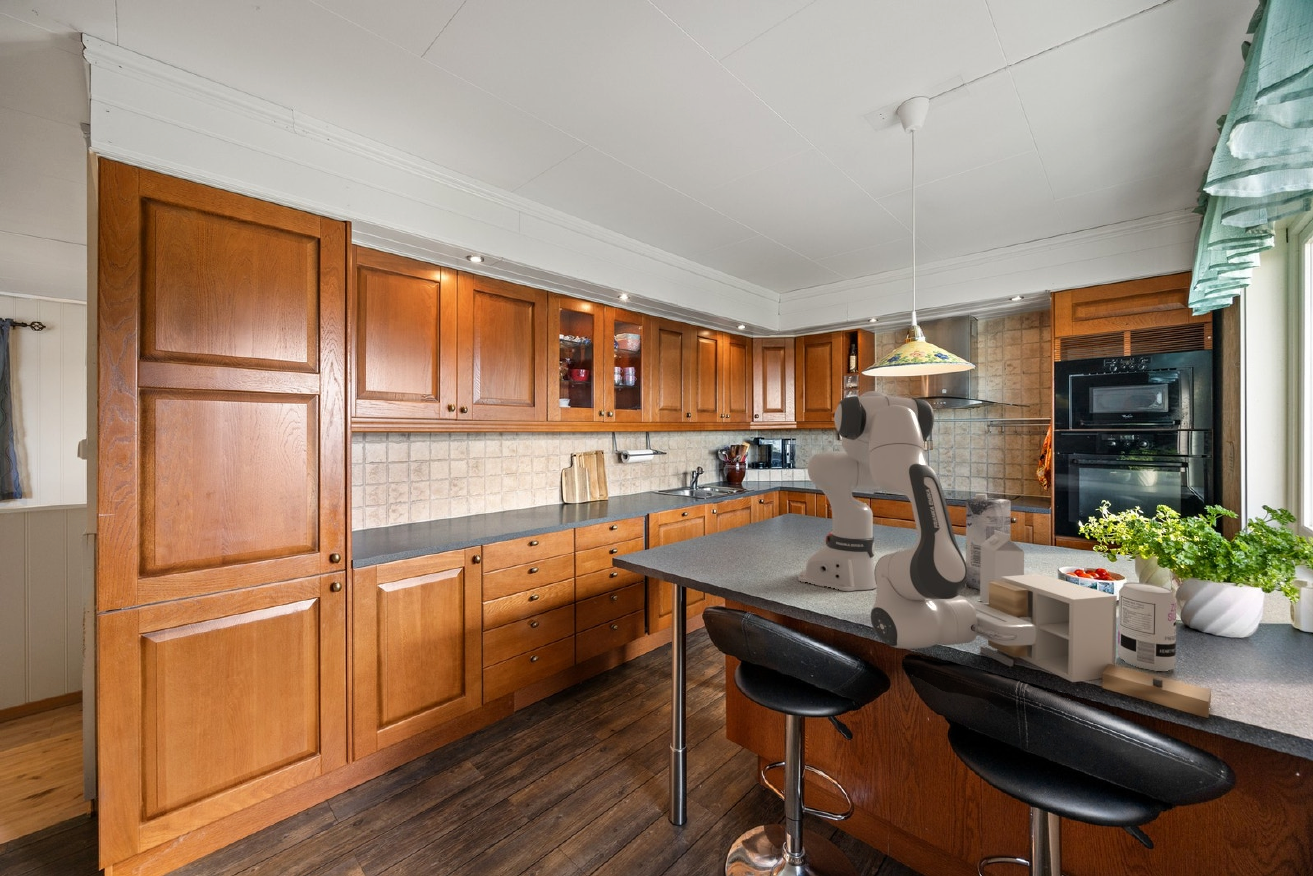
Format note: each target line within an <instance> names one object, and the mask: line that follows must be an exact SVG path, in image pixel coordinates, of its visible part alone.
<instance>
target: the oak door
mask: <svg viewBox="0 0 1313 876" xmlns="http://www.w3.org/2000/svg"><path fill="white" fill-rule="evenodd" d="M989 607H991V608H994V609H996V610H999V611H1001V612H1004V613H1007V614H1009V615H1012V616H1014V617H1017V616H1019V615H1021V616H1022V615H1024V616H1027V608H1028V590H1027V589H1024V588H1021V587H1018V586H1015V585H1012V584H1009V583H1005V582H1002V581H996V582H989ZM987 646H989V647H990V648H993V649H995V650H997V651H1000V652H1001V653H1004V654H1006V655H1008V656H1010V657H1012V658H1019V657H1023V656H1027V645H1023V646H1006V645H1000V644H997V643H994V642H992V641H990V640H987Z"/></svg>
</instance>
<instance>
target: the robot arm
mask: <svg viewBox="0 0 1313 876" xmlns="http://www.w3.org/2000/svg"><path fill="white" fill-rule="evenodd" d="M833 417H834V419H833V421H834V426H835V429H836V433H838V435H839V436H840V437H841V444H842V448H843V450H844V451H843V450H841V451H839V450H838V451H835V450H833V451H832V450H831V451H830V450H829V451H825V452H819V453H815V454H813V456H812V457H811V459H810V460H809V461H808V465H807V474H808V477H809V479H810V481H811V482H812V484H813V485H815V487H817V488H818V489H819V490H821V491H822V492H823V494H824V495H825V496H826V498H827V500H828V502H829V504H830V508H831V514H832V515H831V517H832V531H831V532H829V533H828V534H826V536H825V541H824V542H825V546H824V547H822V548H821V549H819V550H818V551H816V552H815V553H813V554H812V555H811V556H810V557H809V558H808V559H807V562H806V565H805V569H804V570H802V571H800V572H799V573H798V575H797V581H799V582H800V581H801V583H805V582H808V583H807V584H809V583H811V585H814V584H815V585H816V586H820V587H824V586H827V587H826V588H828V587H831V588H830V589H833V588H835V589H834V590H838V589H839V590H838V591H843V592H852V591H866V590H867V591H868V590H872V589H876V596H875V597H876V599H875V602H874V604H873V607H872V609H871V611H870V622H871V625H872V629H873V630H874V632H875V634H876V635H877V637H878V638H879V640H881V641H882V642H883V643H884V644H886V645H887V646H890V647H892V648H895V649H896V648H897V649H905V650H906V649H908V650H909V649H910V650H912V649H913V650H914V649H924V648H930V647H931V648H932V647H933V646H935V645H938V646H939V645H940V646H952V645H962V644H970V643H971V642H973V641H974V640H975V639H976V638H977V636H979V637H981V638H983V639H986V641H988V640H990V641H992V642H994V643H997V644H1000V645H1006V646H1023V645H1033V644H1035V641H1036V626H1035V625H1034V624H1032V623H1031V621H1032V619H1031V618H1030V617H1027V616H1024V615H1022V616H1021V615H1019V616H1017V617H1014V616H1012V615H1009V614H1007V613H1004V612H1001V611H999V610H996V609H994V608H991V607H989V603H984V602H982V601H981V602H980V601H975V600H974V599H971V598H968V597H966V596H963V595H960V594H962V592H963V591H964V589H965V588H966V582H967V577H968V571H967V565H966V559H965V558H964V556H963V554H962V552H961V550H960V547H959V545H958V543H957V539H956V536H955V532H954V529H953V524H952V521H951V517H950V514H949V510H948V505H947V502H946V498H945V494H944V490H943V486H942V484H941V481H940V478H939V476H938V474H937V473H936V471H935V470H934V469H933V468H932V467H931V466H929V464H928V462H927V459H926V458H927V457H926V451H925V443H924V442H925V440H926V439H928V438H929V436H930V435H931V434H932V431H933V429H934V425H935V415H934V409H933V407H932V406H931V404H930V403H929V402H928V401H927V400H924V399H921V398H916V397H912V398H909V397H901V396H892V395H891V396H889V395H887V394H886V393H884V392H881V391H878V390H872V391H871V390H870V391H865V392H864V393H862V394H861V395H859V396H857V395H854V396H848V397H844V398H842V399H841V400H840V401H839V402H838V404H837V407H836V408H835V412H834V416H833ZM880 489H882V490H883V491H886V492H889V493H891V494H896V495H901V496H906V497H907V498H908V500H909V501H910V504H911V509H912V514H913V518H914V523H915V527H916V532H917V541H916V543H915V545H914V546H913V547H911V548H907V549H903V550H898V551H894V552H890V553H888V554H887V553H886V554H885V555H883V556H881V557H880V558H879V559H878V560H877V562H876V564H875V563H874V556H875V548H876V547H875V544H876V543H875V537H874V536H873V533H874V532H873V529H874V527H873V525H874V523H873V522H874V519H873V518H874V517H873V516H874V514H873V510H872V508H871V507H870V506H869V505H867V504H866V503H864V502H862V500H859V499H856V498H855V497H854V496H853V492H852V491H853V490H880Z"/></svg>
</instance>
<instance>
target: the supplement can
mask: <svg viewBox="0 0 1313 876" xmlns="http://www.w3.org/2000/svg"><path fill="white" fill-rule="evenodd" d="M1177 604H1178V601H1177V598H1176V596H1175V595H1174V593H1173V590H1172V589H1170V588H1168V587H1165V586H1161V585H1157V584H1152V583H1143V582H1135V581H1134V582H1132V581H1131V582H1130V581H1129V582H1124V583H1123V585H1122V587H1121V588H1120V589H1119V590H1118V623H1117V625H1118V627H1117V629H1118V632H1117V635H1118V636H1117V655H1118V657H1119V658H1120V659H1121V660H1122V659H1123V660H1124V661H1125V662H1124V661H1123V660H1122V661H1123V662H1124V663H1126V664H1128V665H1130V664H1131V665H1130V666H1132V665H1133V666H1132V667H1135V666H1136V667H1135V668H1138V667H1139V668H1138V669H1141V668H1145V669H1150V670H1157V671H1166V670H1170V671H1171V670H1174V669H1175V668H1176V654H1177V653H1176V651H1177V649H1176V645H1177V613H1178V611H1177V607H1178V605H1177ZM1145 669H1144V670H1145ZM1150 670H1149V671H1150Z"/></svg>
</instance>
